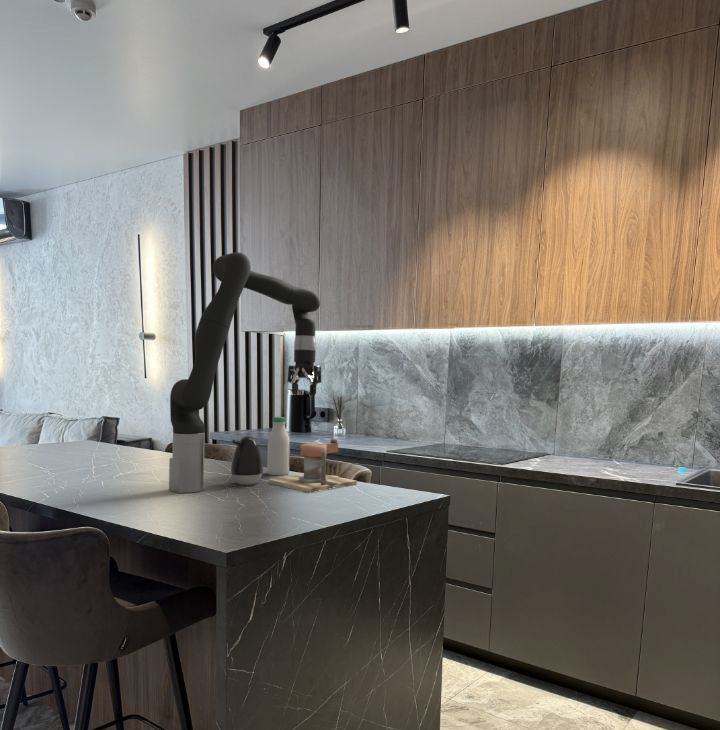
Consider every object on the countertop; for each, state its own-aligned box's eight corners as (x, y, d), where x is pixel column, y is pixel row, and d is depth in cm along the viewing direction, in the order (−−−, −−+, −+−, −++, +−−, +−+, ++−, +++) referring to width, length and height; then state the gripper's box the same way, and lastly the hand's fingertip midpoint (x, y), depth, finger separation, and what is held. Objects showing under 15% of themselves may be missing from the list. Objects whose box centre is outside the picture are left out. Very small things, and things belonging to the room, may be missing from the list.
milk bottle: (287, 476, 205) (288, 418, 205) (265, 475, 205) (266, 417, 205) (290, 472, 212) (291, 416, 213) (268, 471, 212) (269, 416, 213)
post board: (309, 492, 177) (310, 450, 177) (269, 483, 191) (269, 444, 191) (356, 484, 191) (357, 445, 191) (315, 476, 205) (316, 440, 205)
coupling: (312, 457, 185) (312, 443, 185) (295, 454, 191) (295, 441, 191) (344, 453, 195) (345, 440, 195) (327, 451, 201) (327, 438, 201)
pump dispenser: (224, 483, 190) (224, 435, 190) (252, 479, 197) (253, 433, 197) (239, 488, 182) (240, 438, 182) (268, 484, 189) (269, 436, 189)
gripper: (283, 348, 210) (281, 394, 210) (312, 348, 201) (311, 396, 201) (298, 349, 216) (297, 394, 216) (327, 349, 207) (325, 395, 207)
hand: (303, 395), depth 208 cm, fingers open, 8 cm apart
